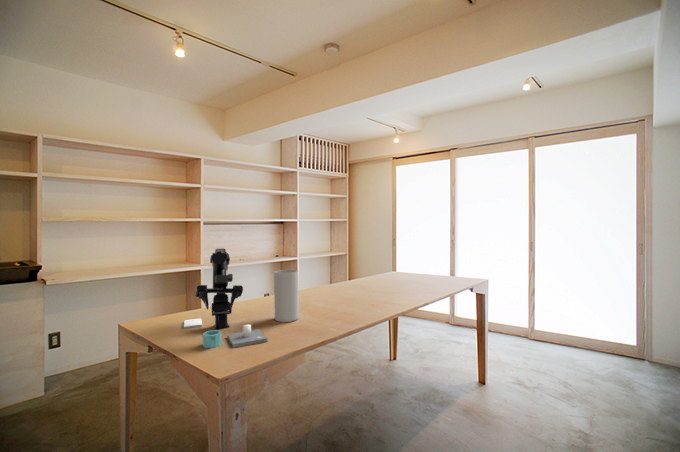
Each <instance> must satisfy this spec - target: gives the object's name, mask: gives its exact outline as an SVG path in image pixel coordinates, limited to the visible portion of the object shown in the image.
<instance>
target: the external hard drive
mask: <svg viewBox="0 0 680 452" xmlns="http://www.w3.org/2000/svg"><path fill="white" fill-rule="evenodd" d="M202 321H203V320H202V318H192V319H191V318H190V319H185V320H183V330H186V329H192V328H193V329H194V328H199V327H200V328H201V327H203V323H202Z"/></svg>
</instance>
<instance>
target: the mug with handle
mask: <svg viewBox="0 0 680 452" xmlns="http://www.w3.org/2000/svg"><path fill="white" fill-rule="evenodd" d="M222 342H223V341H222V330H220V329H215V330H214V329H211V330H208V331H205V332H203V333H202V346H203V347H202V348H205V349H214V348H217V347H220V346H221V345H222Z"/></svg>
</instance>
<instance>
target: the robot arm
mask: <svg viewBox="0 0 680 452" xmlns="http://www.w3.org/2000/svg"><path fill="white" fill-rule="evenodd" d="M226 251H227V250H226V248H216V249H215V252H212V254H211V255H210V259H209V261H210V264H211V267H212V287H211V288H210V287H209V288H208V285H207V284H197V285H196V289H195V297H196V298H198V299H201V300H202V302H203V304H204V306H205V308H206V310H207V311H208V310H209V297H208V294H214V295H213V298H212V303H211V316H212V317H214V324H213V328H214V329H215V330H220V329H224V328H229V327H230V324H229V323H228V321H229V319H228V315H231V314H232V311H233V310H232V308H233V305H234V302H235V301H236V299H238V298H240V297H242V294H243V292H244V287H243V286H242V285H241V284H240V285H239V284H238V285H236V284H235V285H233V286H232V288H230V287H229V288H228V283H232V282H233V280H234V277H233V275H234V274H233V273H227V271H228V270H229V265H230V261H231V259H230V258H231V257H230V254H229V253H228V252H226ZM228 294H231V296H230V301H229V295H228Z"/></svg>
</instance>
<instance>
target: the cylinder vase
mask: <svg viewBox="0 0 680 452" xmlns="http://www.w3.org/2000/svg"><path fill="white" fill-rule="evenodd" d="M273 282H274V283H273V289H274V290H273V293H274V294H273V296H274V298H273V299H274V303H273V304H274V319H275V321H277V322H279V323H280V322H281V323H291V322H295V321H297V320H298V319H300V304H299V301H300V300H299V299H300V298H299V296H300V293H299V290H300V289H299V288H300V287H299V270H298V269H279V270H275V271H273Z"/></svg>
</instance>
